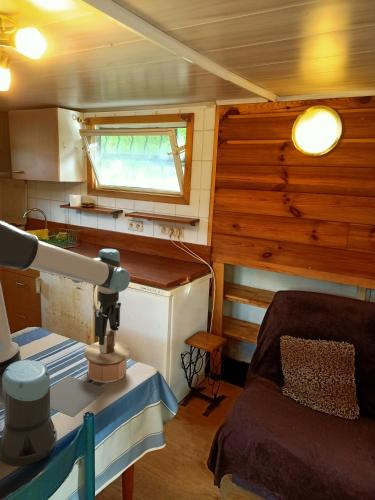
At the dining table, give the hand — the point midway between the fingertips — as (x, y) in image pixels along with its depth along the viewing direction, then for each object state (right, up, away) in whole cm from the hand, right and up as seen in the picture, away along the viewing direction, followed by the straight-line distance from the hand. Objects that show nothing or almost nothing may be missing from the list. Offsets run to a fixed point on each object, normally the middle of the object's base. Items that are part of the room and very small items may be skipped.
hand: (107, 348), depth 142 cm
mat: (-10, -13, -13) cm, 21 cm away
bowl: (-1, -10, +2) cm, 10 cm away
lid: (0, -2, 0) cm, 2 cm away
